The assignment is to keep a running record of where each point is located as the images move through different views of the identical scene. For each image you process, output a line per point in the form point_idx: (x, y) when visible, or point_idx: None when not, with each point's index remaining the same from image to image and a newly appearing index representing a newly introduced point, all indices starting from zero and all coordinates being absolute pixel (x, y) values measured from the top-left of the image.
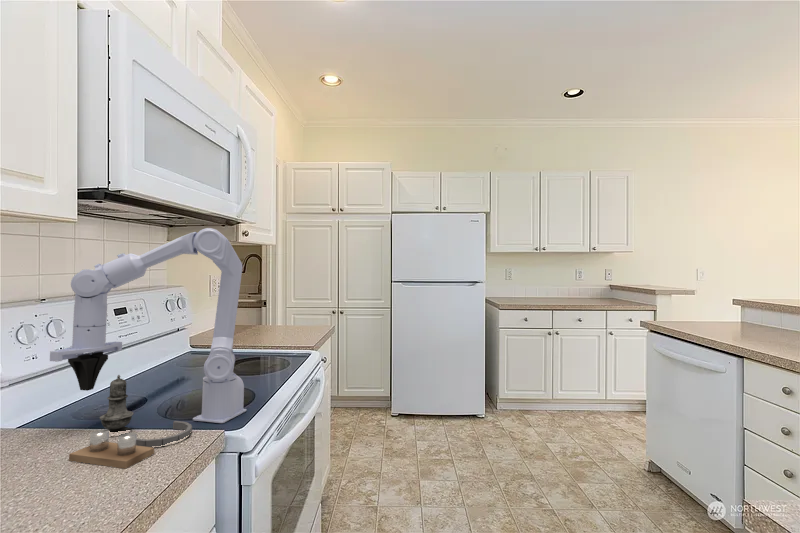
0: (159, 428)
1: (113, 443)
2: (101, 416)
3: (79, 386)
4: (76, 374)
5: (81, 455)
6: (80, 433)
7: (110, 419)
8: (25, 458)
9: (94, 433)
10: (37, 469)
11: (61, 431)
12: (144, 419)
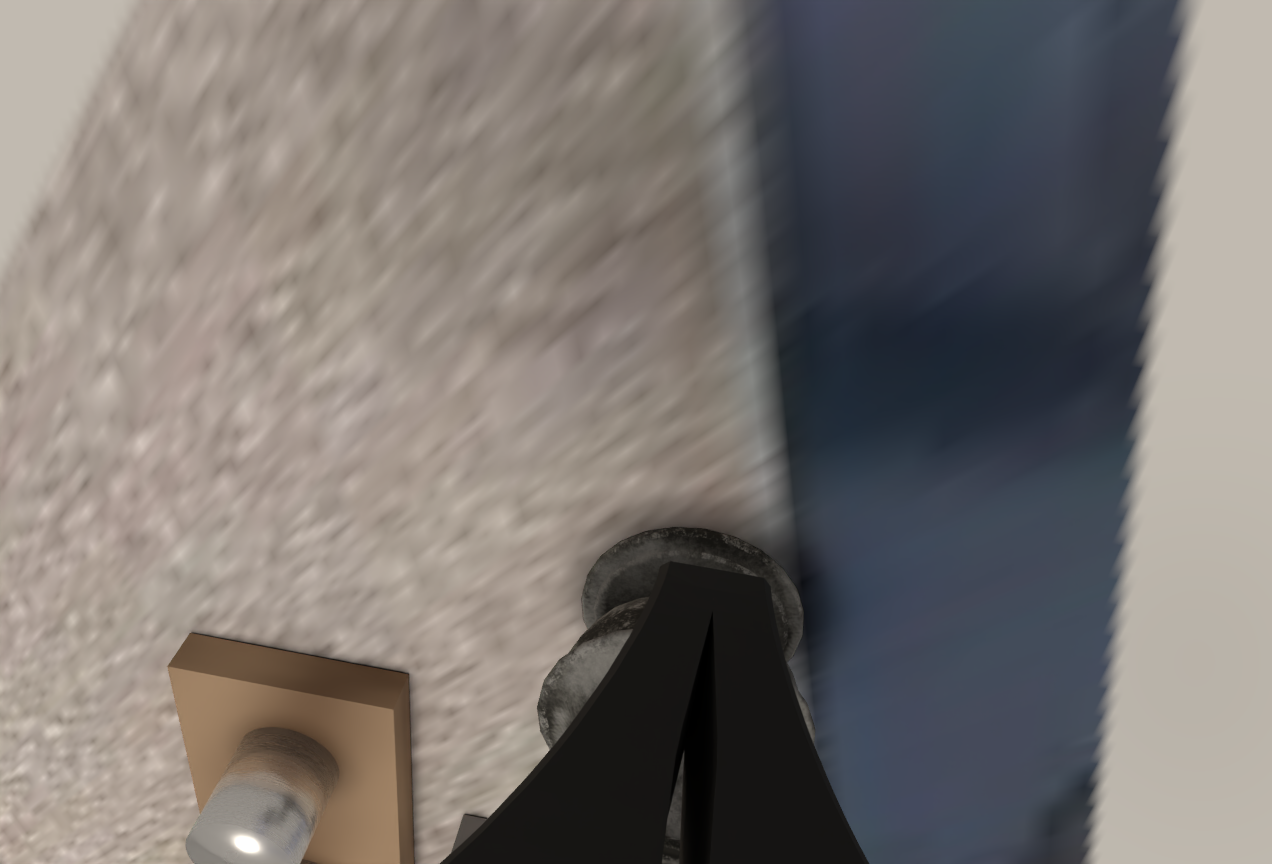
0: None
1: (387, 784)
2: (605, 652)
3: (653, 592)
4: (562, 748)
5: (184, 731)
6: (627, 364)
7: (551, 747)
8: (93, 361)
9: (211, 844)
10: (41, 555)
11: (647, 135)
12: (1057, 644)
